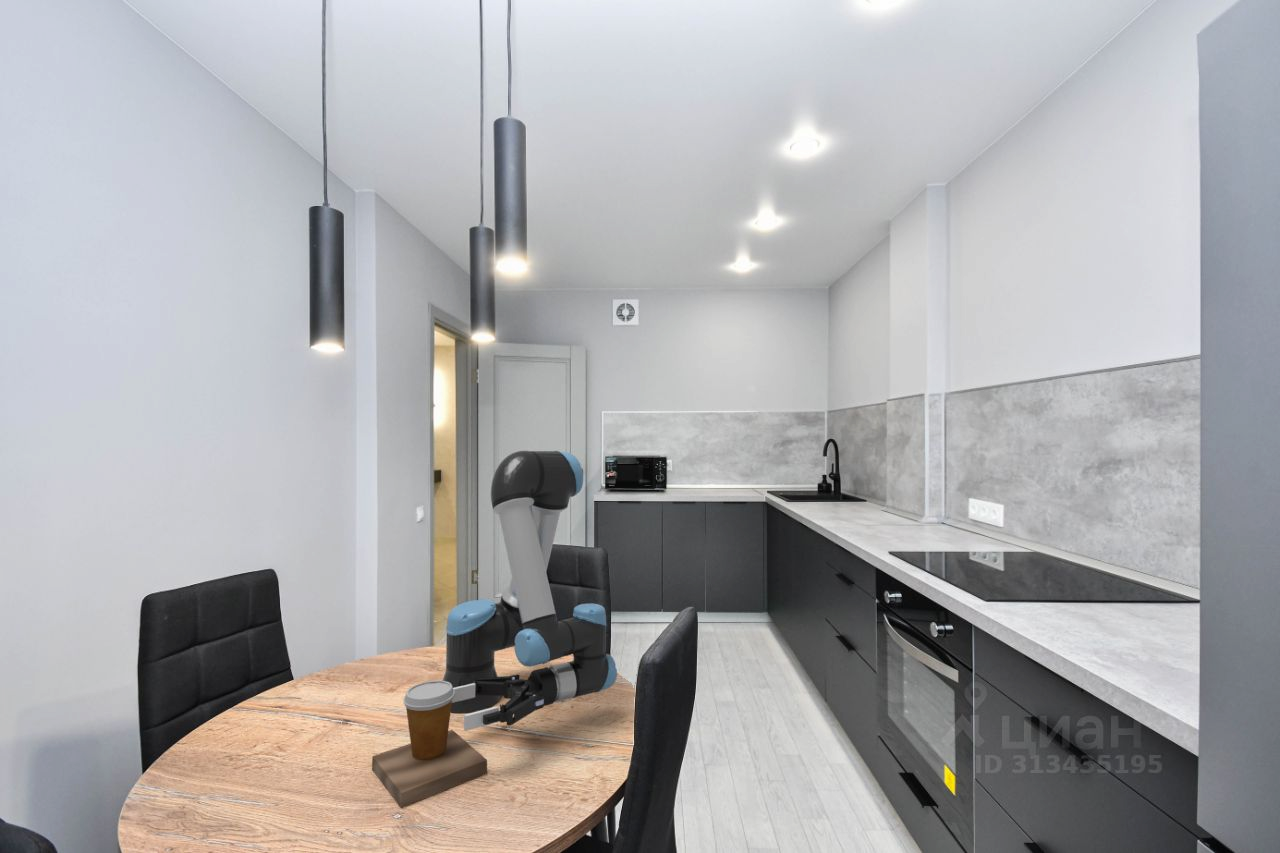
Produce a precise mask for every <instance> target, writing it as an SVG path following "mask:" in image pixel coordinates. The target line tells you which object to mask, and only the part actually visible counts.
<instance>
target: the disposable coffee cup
mask: <svg viewBox="0 0 1280 853" xmlns="http://www.w3.org/2000/svg"><path fill="white" fill-rule="evenodd" d="M454 694H455V691H454V689H453V687H452V685H451V683H449V682H446V681H443V680H438V679H437V680H428V681H425V682H424V681H423V682H421V683H417V684H415V685H412V686H411V687H409V688H408V689H407V691H406V692H405V696H404V698H403V699H402V700H403V704H404V706H405V710H406V716H407V724H408V730H409V740H410V743H411V748H412V756H413V757H414V758H416V759H419V760H426V759H432V758H435V757H437V756H439V755H441V754H442V753H444V752H445V750H446V745H447V737H448V731H449V730H450V729H449V727H450V721H451V713H452V712H451V704H452V699H453V696H454Z"/></svg>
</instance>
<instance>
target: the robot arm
mask: <svg viewBox="0 0 1280 853" xmlns="http://www.w3.org/2000/svg"><path fill="white" fill-rule="evenodd" d="M583 484H584V471H583V468H582V465H581V463H580V462H579V459H578V458H577V457H576V456H575V455H574V454H572V453H570V452H567V451H559V450H554V451H553V450H548V451H546V450H544V451H541V450H532V451H531V450H519V451H514V452H512V453H510V454H508V455H507V456H506V457H505V458H504V459H503V460H502V461H501V462H500V463H499V465H498V466H497V468H496V469H495V472H494V474H493V477H492V481H491V485H490V486H491V487H490V499H491V500H490V502H491V506H492V510H493V513H495V514H496V515H498V517H499V522H500V526H501V530H502V531H501V532H502V535H503V541H504V545H505V550H506V555H507V561H508V565H509V569H510V574H511V579H510V583H509V586H507V587H506V588H504V589H503V590H502V592H501V597H500V601H499V602H497V603H495V601H494V600H491V599H487V598H486V599H484V598H481V599H477V600H476V599H475V600H468V601H465V602H463V603H460V604H458V605H456V606H455V607H453V608H452V609H451V610H450V611H449V612H448V614H447V615H448V616H447V622H446V627H445V631H446V652H445V653H446V655H445V656H446V657H445V658H446V659H445V661H446V662H445V663H446V664H445V672H444V676H443V678H442V681H446V682H449V683H451V685H452V687H453V689H454V691H455V694H454V696H453V699H452V704H451V713H466V714H463V731H464V732H467V731H471V730H474V729H478V728H481V727H485V726H488V725H492V724H496V723H500V724H501V723H506V726H512V725H515V723H517V722H519V721H521V720H522V719H524V718H526V717H527V716H528V715H531V714H532V713H534V712H535V711H538V710H541V709H543V708H544V707H546V706H551V705H553V704H554V703H564V702H565V701H567V700H571V699H574V698H578V697H581V696H584V695H589V694H593V693H599V692H601V691H604V690H606V689H608V688H612V687H613V686H614V684H615V683H616V680H617V678H618V670H617V668H616V661H615V659H614V658H613V657H612V655H610V654H609V653H606V649H607V648H606V644H607V642H606V641H607V639H606V637H607V636H606V635H607V615H606V609H605V607H604V606H603V605H601V604H598V603H581V604H578V605H576V606H574V608H573V610H572V611H573V613H572V617H571V618H567V619H563V620H559V621H558V618H557V613H556V610H555V604H554V600H553V596H552V591H551V588H550V583H549V579H548V575H547V570H548V566H549V562H550V558H551V554H552V553H551V552H552V550H553V545H554V540H555V536H556V534H557V529H558V523H559V520H560V516H561V513H562V512H563V511H564V510H566V509H568V507H569V504H570V503H569V502H570V499H571V498H573V497H575V496H577V495H578V494H579V493H581V491H582V488H583ZM513 647H514V653H515V656H516V659H517V661H518V662H519V663H520V664H521V665H523V666H524V667H528V668H529V667H534V666H538V665H545V664H547V663H549V662H551V661H555V660H558V659H561V658H564V657H568V656H571V655H573V656H572V657H573V659H572V661H568V662H567V661H566V662H562V663H558V664H554V665H550V666H547V667H542V668H538V669H533V670H532V671H531V672H530V674H529V677H528V678H527V679H521V678H520V677H521V675H520V674H513V675H506V676H501V675H500V676H498V674H497V671H496V670H497V669H496V667H495V656H496V655H495V652H498V651H501V650H505V649H509V648H513ZM501 697H503V698H504V699H509V700H508V701H507V702H506V703H505V704H503V703H502V704H501V703H500V705H498V706H497V705H496V706H494V705H495V704H497V703H498V702H500V699H501ZM491 706H494V707H491Z"/></svg>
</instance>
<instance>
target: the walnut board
mask: <svg viewBox="0 0 1280 853" xmlns="http://www.w3.org/2000/svg"><path fill="white" fill-rule="evenodd" d="M371 758H372V760H371V762H372V763H371V770H372V771H373V773H374V774H375V775H376V777H377V778H378V779H379V781H380V782H381V784H382V785H383V786H384V787H385V789H386V791H388V792H389V795H390V796H392V798H393V799H394V801H395V802H396V803H397V805H398V806H399V807H400V808H405V807H407V806H409V805H412V804H415V803H417V802H420V801H423V800H424V799H427V798H429V797H432V796H435V795H437V794H440V793H442V792H444V791H446V790H449V789H452V788H454V787H456V786H459V785H462V784H464V783H467V782H470V781H472V780H474V779H476V778H479V777H481V776H484V775H486V774H487V773H488V759H487V758H486V757H484V756H483V755H482V754H481V753H480V752H478V750H476V749H475V748H474V747H473V746H472V745H471V744H470V743H468V742H467V740H465V739H464V738H462V736H460V735H459V734H458V733H457V732H456V731H455V730H453V729H448V737H447V745H446V750H445V752H444V753H442V754H441V755H439V756H437V757H435V758H432V759H426V760H419V759H416V758H414V757H413V756H412V748H411V742H410V743H407V744H405V745H402V746H399V747H396V748H392V749H390V750H386V751H383V752H381V753H378V754H376V755H372V757H371Z"/></svg>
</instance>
